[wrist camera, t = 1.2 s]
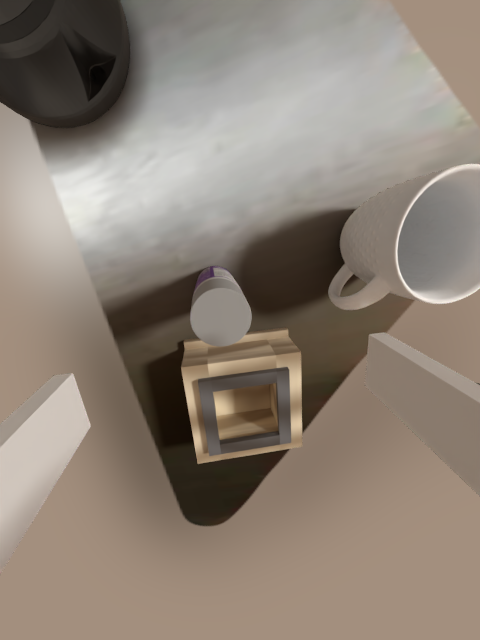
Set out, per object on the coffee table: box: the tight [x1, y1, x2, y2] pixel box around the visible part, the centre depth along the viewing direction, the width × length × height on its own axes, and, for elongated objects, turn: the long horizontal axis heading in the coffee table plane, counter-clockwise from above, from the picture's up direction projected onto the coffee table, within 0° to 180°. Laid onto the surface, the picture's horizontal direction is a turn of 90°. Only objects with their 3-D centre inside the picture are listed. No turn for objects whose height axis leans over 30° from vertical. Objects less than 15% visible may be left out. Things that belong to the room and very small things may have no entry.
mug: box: [328, 164, 480, 310], centre depth 27 cm, size 15×11×13 cm
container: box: [190, 266, 252, 347], centre depth 25 cm, size 5×5×15 cm
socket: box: [181, 328, 302, 464], centre depth 34 cm, size 16×14×7 cm
